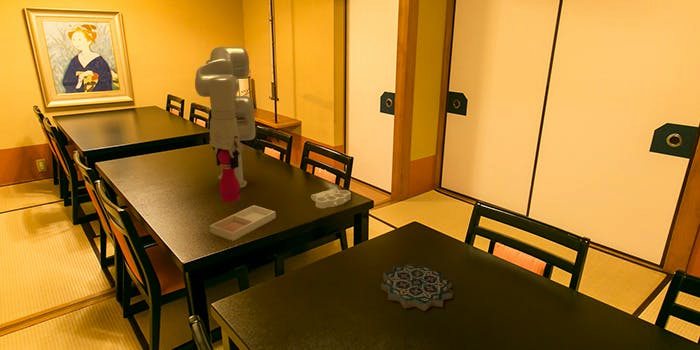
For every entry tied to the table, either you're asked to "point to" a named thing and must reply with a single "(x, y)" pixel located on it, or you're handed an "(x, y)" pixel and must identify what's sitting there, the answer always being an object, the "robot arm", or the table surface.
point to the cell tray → (242, 222)
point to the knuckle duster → (331, 198)
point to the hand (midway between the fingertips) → (227, 165)
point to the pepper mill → (228, 178)
